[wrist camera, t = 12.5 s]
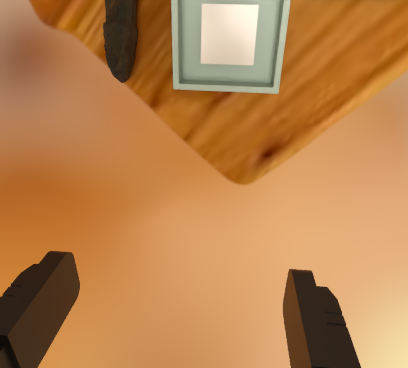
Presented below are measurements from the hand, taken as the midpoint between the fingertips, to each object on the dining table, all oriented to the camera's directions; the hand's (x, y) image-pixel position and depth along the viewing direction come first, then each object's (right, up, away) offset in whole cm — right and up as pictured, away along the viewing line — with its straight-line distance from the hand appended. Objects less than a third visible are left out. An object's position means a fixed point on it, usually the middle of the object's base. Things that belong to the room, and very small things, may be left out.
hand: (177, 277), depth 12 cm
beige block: (+4, +19, +22) cm, 29 cm away
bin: (+4, +20, +22) cm, 30 cm away
